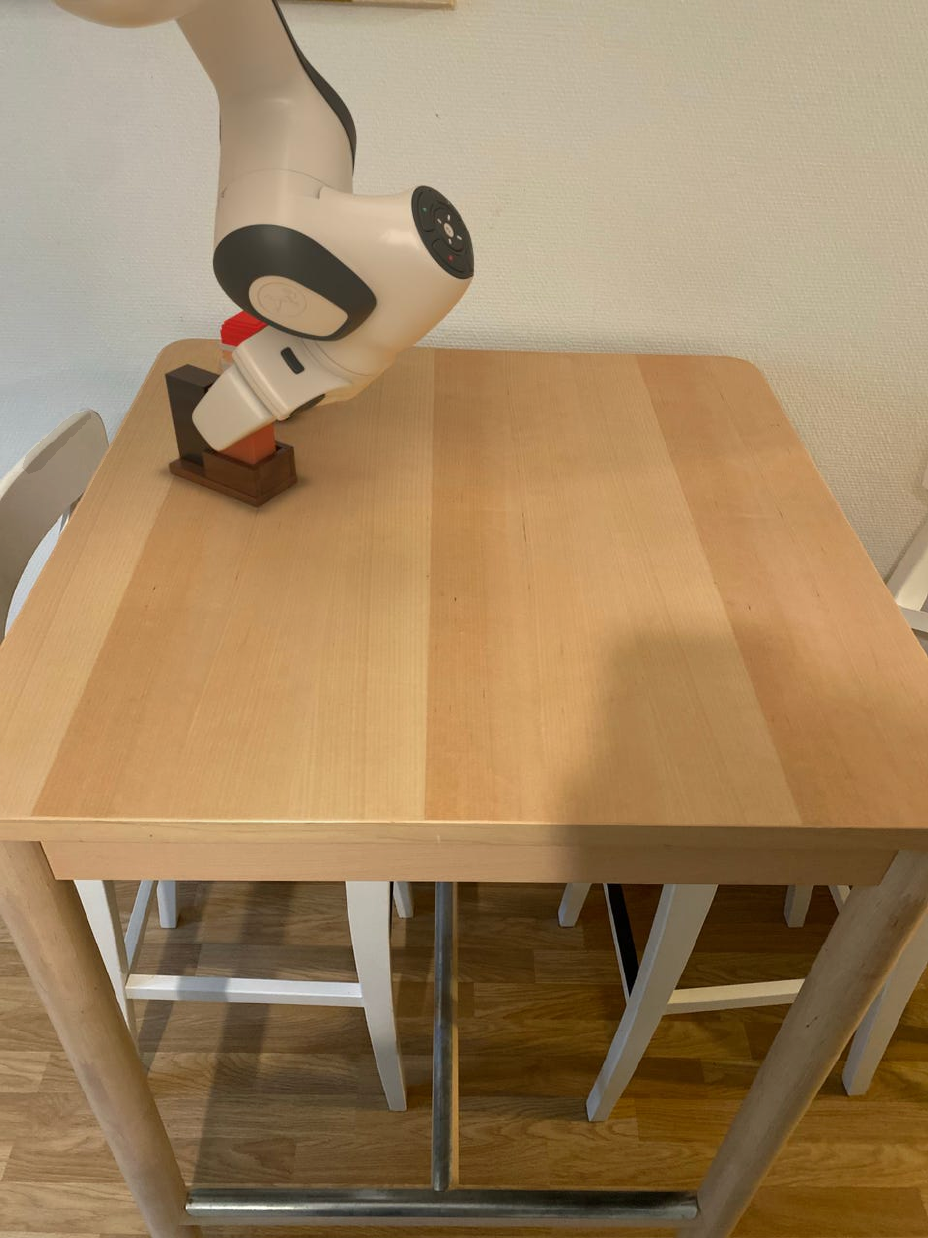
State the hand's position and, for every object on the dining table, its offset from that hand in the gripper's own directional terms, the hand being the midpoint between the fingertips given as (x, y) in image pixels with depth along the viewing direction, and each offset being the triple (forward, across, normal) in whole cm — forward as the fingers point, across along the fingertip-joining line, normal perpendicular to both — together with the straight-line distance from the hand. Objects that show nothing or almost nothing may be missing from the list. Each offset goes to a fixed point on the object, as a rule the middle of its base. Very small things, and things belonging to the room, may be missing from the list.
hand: (254, 419), depth 85 cm
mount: (+8, 0, +3) cm, 8 cm away
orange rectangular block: (+6, 0, +3) cm, 7 cm away
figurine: (+13, -14, -3) cm, 20 cm away
